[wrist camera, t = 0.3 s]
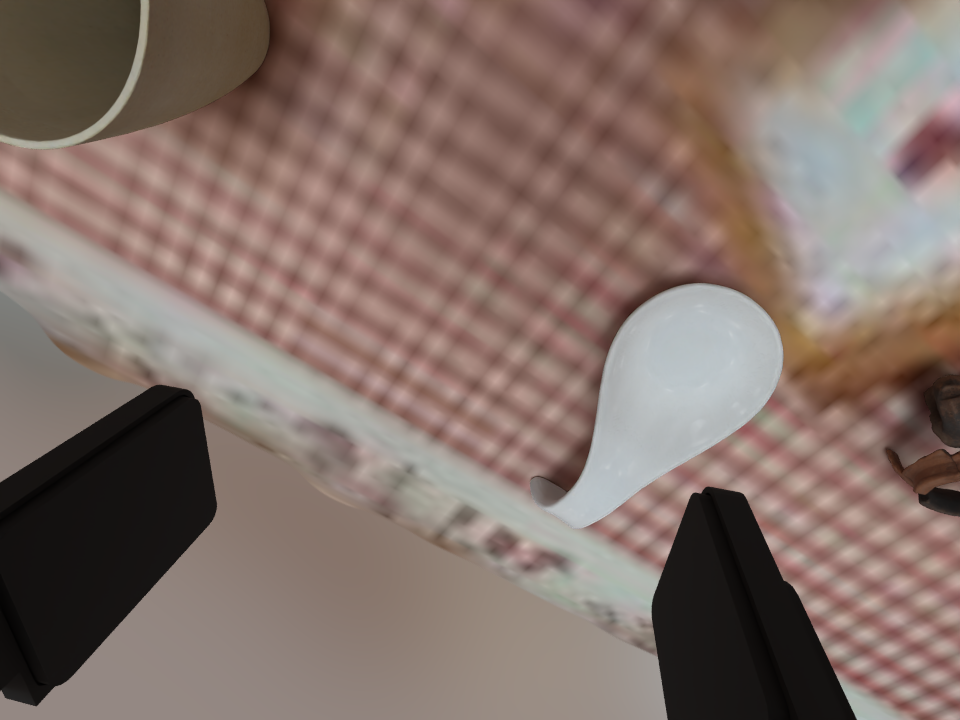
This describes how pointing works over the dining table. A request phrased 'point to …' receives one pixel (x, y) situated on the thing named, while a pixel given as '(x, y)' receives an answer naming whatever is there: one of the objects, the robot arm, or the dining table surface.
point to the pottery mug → (938, 451)
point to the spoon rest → (670, 394)
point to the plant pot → (119, 64)
